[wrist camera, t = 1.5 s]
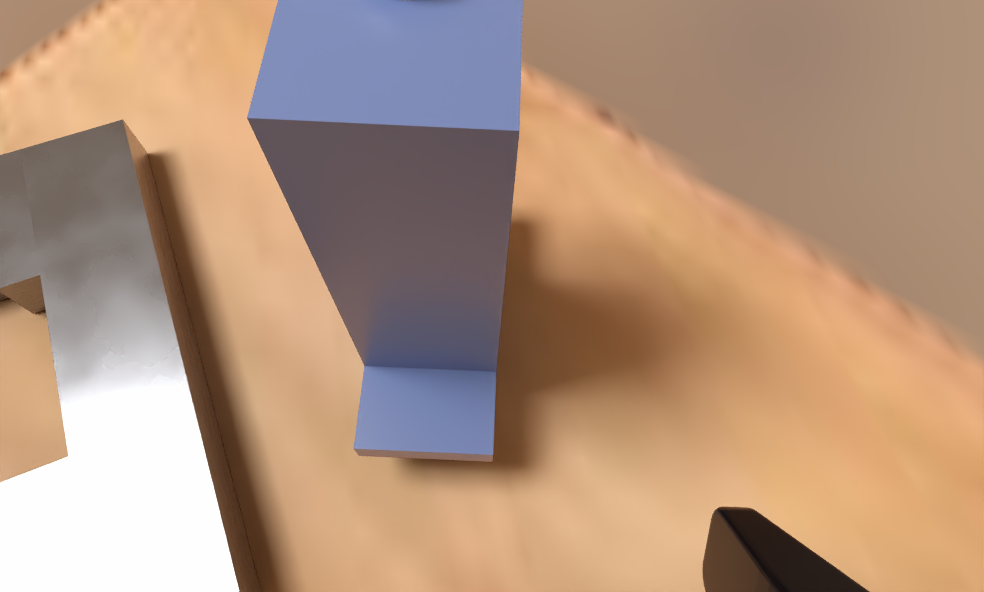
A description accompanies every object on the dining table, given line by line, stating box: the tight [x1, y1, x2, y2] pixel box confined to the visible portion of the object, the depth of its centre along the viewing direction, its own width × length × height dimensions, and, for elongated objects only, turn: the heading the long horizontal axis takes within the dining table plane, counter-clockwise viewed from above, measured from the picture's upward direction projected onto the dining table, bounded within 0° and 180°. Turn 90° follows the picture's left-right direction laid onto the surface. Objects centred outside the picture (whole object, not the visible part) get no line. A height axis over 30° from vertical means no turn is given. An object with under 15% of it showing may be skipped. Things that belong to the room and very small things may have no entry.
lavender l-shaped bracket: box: [247, 0, 523, 462], centre depth 16 cm, size 10×4×15 cm, turn 178°
